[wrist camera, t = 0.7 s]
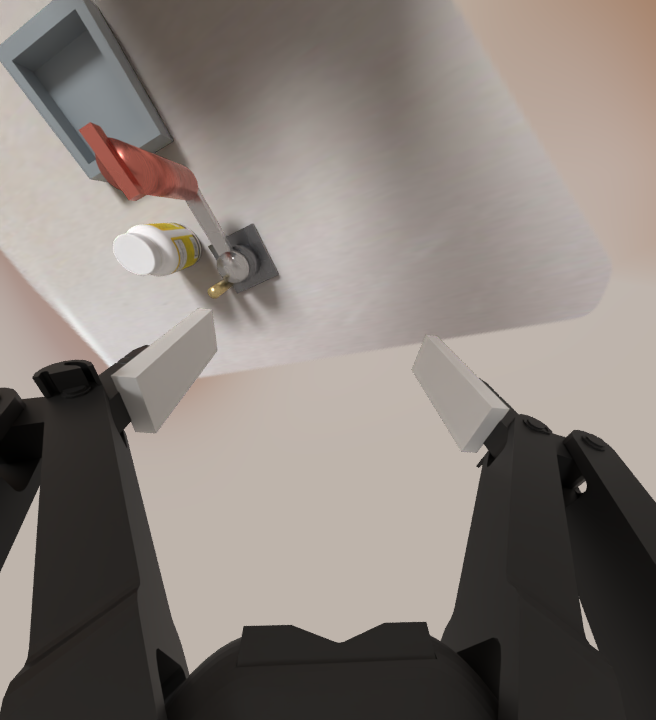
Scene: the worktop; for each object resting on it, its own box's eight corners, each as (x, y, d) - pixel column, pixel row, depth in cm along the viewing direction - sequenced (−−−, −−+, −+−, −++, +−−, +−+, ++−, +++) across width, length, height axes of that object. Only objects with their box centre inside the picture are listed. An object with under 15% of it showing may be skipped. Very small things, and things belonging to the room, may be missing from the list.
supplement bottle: (152, 241, 32) (93, 249, 23) (176, 213, 30) (121, 210, 22) (187, 274, 34) (144, 292, 26) (210, 249, 32) (173, 259, 24)
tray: (22, 66, 23) (-8, 51, 21) (97, 6, 21) (73, -17, 19) (107, 182, 28) (90, 179, 26) (173, 140, 26) (160, 134, 24)
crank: (255, 273, 30) (227, 298, 21) (232, 284, 31) (194, 313, 21) (189, 153, 24) (105, 111, 14) (161, 170, 24) (63, 140, 15)
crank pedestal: (204, 248, 32) (180, 254, 27) (253, 223, 31) (239, 224, 25) (233, 294, 36) (218, 308, 30) (278, 273, 34) (271, 284, 29)
